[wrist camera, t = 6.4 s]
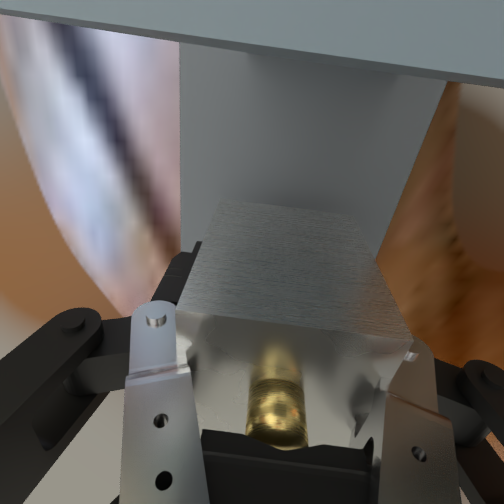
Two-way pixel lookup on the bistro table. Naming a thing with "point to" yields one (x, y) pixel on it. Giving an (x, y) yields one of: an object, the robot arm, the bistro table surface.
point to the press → (303, 93)
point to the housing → (287, 325)
